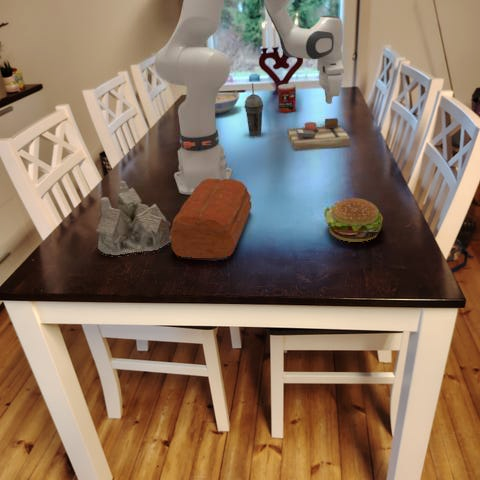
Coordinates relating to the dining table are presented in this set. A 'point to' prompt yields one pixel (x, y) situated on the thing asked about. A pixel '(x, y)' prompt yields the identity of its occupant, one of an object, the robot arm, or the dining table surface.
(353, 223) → the food
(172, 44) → the robot arm
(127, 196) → the ceramic cottage
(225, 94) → the ramen bowl
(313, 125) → the brick-red push button
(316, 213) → the dining table surface
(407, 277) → the dining table surface
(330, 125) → the walnut slider knob
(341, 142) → the control board
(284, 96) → the canned food
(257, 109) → the beverage cup
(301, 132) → the charcoal rocker switch
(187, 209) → the bread
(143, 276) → the dining table surface
